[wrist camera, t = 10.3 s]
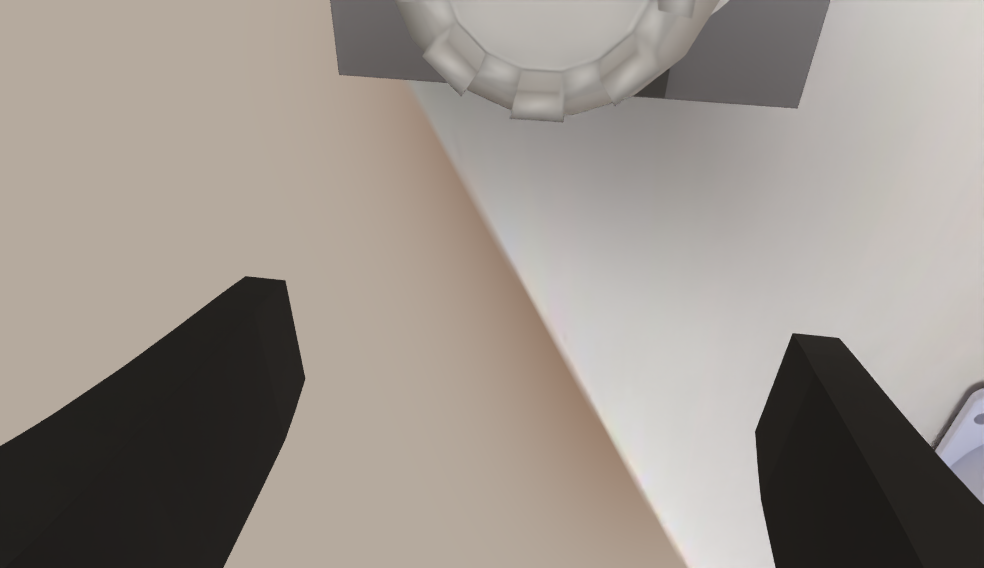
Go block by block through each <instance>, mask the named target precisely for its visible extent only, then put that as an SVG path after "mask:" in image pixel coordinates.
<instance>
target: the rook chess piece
mask: <svg viewBox="0 0 984 568" xmlns="http://www.w3.org/2000/svg"><path fill="white" fill-rule="evenodd" d="M719 1H720V0H395V2H396V4H397V7H398V9H399V11H400V13H401V15H402V18H403V20H404V22H405V24H406V26H407V28H408V31H409V33H410V35H411V37H412V39H413V41H414V42H415V43H416V44H417V45H418V46H419V47H420V48H421V49H422V50H423V51H424V54H423V56H422V57H423V58H424V59H425V60H426V61H427V62H428V63H429V64H430V65H431V66H432V67H433V68H434V69H435V70H436V71H437V72H438V73H439V74H440V75H441V76H442V77H443V78H444V79H445V80H446V81H447V82H448V83H449V84H450V85H451V86H452V87H453V88H454V89H455V90H456V91H457V92H458V93H459V94H460V95H461V96H462V94H463V93H464V91H465V90H466V89H467V90H469V91H471V92H473V93H475V94H477V95H480V96H482V97H484V98H486V99H488V100H490V101H493V102H495V103H497V104H499V105H501V106H503V107H506V108H508V109H510V110H512V112H511V116H510V119H525V120H540V121H554V122H563V118H564V114H568V115H574V114H577V113H580V112H584V111H587V110H590V109H593V108H597V107H600V106H603V105H606V104H610V103H613V104H614V105H615V106H616V105H617V104H619V103H620V102H621V101H622V100H624V99H626V98H629V97H632V96H634V95H635V94H636V93H638V92H639V91H640V90H642V89H643V88H644V87H645V86H647V85H648V84H649V83H651V82H652V81H653V80H654V79H656V78H657V77H658V76H660V75H661V74H662V73H664V72H665V71H666V70H667V69H669V68H670V67H671V66H673V65H674V64H675V63H677V62H678V61H679V60H680V59H682V58H683V57H684V56H685V55H686V54H687V52H688V50H689V49H690V47H691V46H692V44H693V42H694V41H695V39H696V38H697V36H698V34H699V33H700V31H701V30H702V28H703V26H704V25H705V23H706V22H707V20H708V18H709V17H710V15H711V14H712V12H713V10H714V9H715V7H716V6H717V4H718V2H719Z"/></svg>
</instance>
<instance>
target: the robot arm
mask: <svg viewBox="0 0 984 568" xmlns="http://www.w3.org/2000/svg"><path fill="white" fill-rule="evenodd" d="M304 381H305V375H304V370H303V365H302V360H301V355H300V350H299V345H298V341H297V336H296V331H295V326H294V321H293V316H292V311H291V306H290V301H289V296H288V291H287V286H286V281H285V280H276V279H266V278H257V277H247V276H245V277H244V278H243V279H241V280H240V281H238V282H237V283H235V284H234V285H233V286H231V287H230V288H229V289H227V290H226V291H225V292H223V293H222V294H220V295H219V296H218V297H216V298H215V299H214V300H212V301H211V302H210V303H208V304H207V305H206V306H204V307H203V308H202V309H200V310H199V311H198V312H197V313H195V314H194V315H193V316H191V317H190V318H189V319H187V320H186V321H185V322H183V323H182V324H181V325H179V326H178V327H177V328H175V329H174V330H173V331H171V332H170V333H169V334H167V335H166V336H165V337H163V338H162V339H160V340H159V341H158V342H157V343H155V344H154V345H152V346H151V347H150V348H148V349H147V350H146V351H144V352H143V353H141V354H140V355H139V356H137V357H136V358H135V359H133V360H132V361H131V362H129V363H128V364H126V365H125V366H124V367H122V368H121V369H119V370H118V371H116V372H115V373H113V374H112V375H110V376H109V377H108V378H106V379H104V380H103V381H101V382H100V383H98V384H97V385H95V386H94V387H93V388H91V389H90V390H88V391H87V392H85V393H84V394H82V395H81V396H79V397H78V398H77V399H75V400H73V401H72V402H70V403H69V404H67V405H66V406H64V407H63V408H61V409H60V410H59V411H57V412H56V413H54V414H53V415H51V416H49V417H48V418H46V419H44V420H43V421H41V422H40V423H38V424H36V425H35V426H33V427H32V428H30V429H28V430H27V431H25V432H23V433H22V434H20V435H18V436H17V437H15V438H13V439H12V440H10V441H8V442H7V443H5V444H3V445H1V446H0V568H223V567H224V565H225V563H226V561H227V559H228V557H229V555H230V553H231V551H232V549H233V547H234V545H235V543H236V541H237V539H238V536H239V534H240V532H241V530H242V528H243V526H244V524H245V522H246V520H247V518H248V516H249V514H250V512H251V510H252V508H253V506H254V504H255V502H256V500H257V498H258V495H259V494H260V491H261V489H262V487H263V485H264V483H265V481H266V479H267V477H268V475H269V472H270V471H271V469H272V467H273V464H274V462H275V460H276V458H277V456H278V454H279V452H280V450H281V448H282V445H283V443H284V441H285V439H286V436H287V433H288V430H289V427H290V424H291V422H292V419H293V416H294V413H295V410H296V407H297V403H298V400H299V397H300V394H301V391H302V387H303V385H304ZM981 413H983V414H981ZM755 436H756V449H757V463H758V474H759V484H760V494H761V502H762V506H763V511H764V516H765V521H766V526H767V530H768V535H769V540H770V544H771V549H772V553H773V558H774V563H775V567H776V568H984V388H983V389H979V390H977V391H975V392H974V393H973V394H972V395H971V396H970V397H969V398H968V400H967V401H966V403H965V404H964V406H963V408H962V409H961V411H960V412H959V414H958V415H957V417H956V419H955V420H954V422H953V423H952V425H951V426H950V428H949V430H948V431H947V433H946V434H945V436H944V438H943V439H942V441H941V442H940V444H939V445H938V447H937V449H936V450H935V451H934V450H933V449H932V448H931V446H930V445H929V444H928V443H927V442H926V441H925V440H924V438H923V437H922V436H921V435H920V434H919V433H918V431H917V430H916V429H915V428H914V427H913V426H912V424H911V423H910V422H909V421H908V420H907V419H906V417H905V416H904V415H903V414H902V413H901V411H900V410H899V409H898V408H897V407H896V406H895V404H894V403H893V402H892V401H891V400H890V398H889V397H888V396H887V395H886V394H885V392H884V391H883V390H882V389H881V388H880V386H879V385H878V384H877V383H876V382H875V380H874V379H873V378H872V377H871V375H870V374H869V373H868V372H867V371H866V369H865V368H864V367H863V366H862V365H861V363H860V362H859V361H858V360H857V359H856V357H855V356H854V355H853V354H852V353H851V351H850V350H849V349H848V348H847V347H846V345H845V344H844V343H843V342H842V341H841V340H840V339H839V338H834V337H824V336H815V335H805V334H795V333H793V334H792V336H791V339H790V342H789V344H788V347H787V350H786V352H785V355H784V357H783V360H782V363H781V365H780V368H779V370H778V373H777V376H776V378H775V381H774V384H773V386H772V389H771V391H770V394H769V397H768V399H767V402H766V405H765V407H764V410H763V412H762V415H761V418H760V420H759V423H758V425H757V428H756V431H755Z"/></svg>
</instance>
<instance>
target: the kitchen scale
mask: <svg viewBox="0 0 984 568" xmlns="http://www.w3.org/2000/svg"><path fill="white" fill-rule="evenodd" d="M330 1H331V11H332V19H333V28H334V35H335V45H336V53H337V61H338V70H339V75H350V76H364V77H376V78H390V79H403V80H417V81H430V82H444V83H448V82H447V81H446V80H445V79H444V78H443V77H442V76H441V75H440V74H439V73H438V72H437V71H436V70H435V69H434V68H433V67H432V66H431V65H430V64H429V63H428V62H427V61H426V60H425V59H424V58H423V57H422V56H423V54H424V51H423V50H422V49H421V48H420V47H419V46H418V45H417V44H416V43H415V42H414V41H413V39H412V37H411V35H410V33H409V31H408V28H407V26H406V24H405V22H404V20H403V18H402V15H401V13H400V11H399V9H398V7H397V4H396V2H395V0H330ZM829 3H830V0H720V1H719V2H718V4H717V6H716V7H715V9H714V10H713V12H712V14H711V15H710V17H709V18H708V20H707V22H706V23H705V25H704V26H703V28H702V30H701V31H700V33H699V34H698V36H697V38H696V39H695V41H694V42H693V44H692V46H691V47H690V49H689V50H688V52H687V54H686V55H685V56H684V57H683V58H682V59H680V60H679V61H678V62H677V63H675V64H674V65H673V66H671V67H670V68H669V69H667V70H666V71H665V72H664V73H662V74H661V75H660V76H658V77H657V78H656V79H654V80H653V81H652V82H651V83H649V84H648V85H647V86H645V87H644V88H643V89H642V90H640V91H639V92H638V93H636V94H635V95H634V97H648V98H662V99H675V100H689V101H702V102H716V103H729V104H743V105H757V106H770V107H784V108H798V105H799V102H800V98H801V95H802V92H803V88H804V85H805V82H806V79H807V75H808V72H809V69H810V65H811V62H812V59H813V56H814V52H815V49H816V46H817V42H818V39H819V36H820V33H821V29H822V26H823V23H824V20H825V16H826V13H827V10H828V6H829Z"/></svg>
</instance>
